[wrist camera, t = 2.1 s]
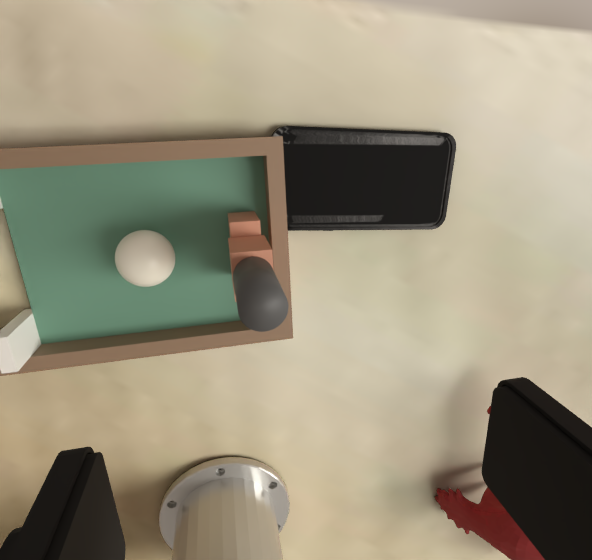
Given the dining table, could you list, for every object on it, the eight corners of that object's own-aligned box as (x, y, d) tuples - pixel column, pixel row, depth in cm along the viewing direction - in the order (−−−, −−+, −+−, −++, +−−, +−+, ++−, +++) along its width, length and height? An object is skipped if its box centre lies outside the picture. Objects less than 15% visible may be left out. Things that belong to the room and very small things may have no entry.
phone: (272, 125, 29) (458, 133, 32) (270, 125, 31) (450, 133, 33) (270, 232, 32) (443, 230, 35) (268, 229, 33) (437, 228, 36)
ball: (181, 274, 31) (176, 291, 28) (126, 279, 31) (114, 298, 27) (173, 222, 30) (168, 234, 26) (116, 227, 29) (102, 239, 26)
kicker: (261, 273, 32) (290, 352, 20) (231, 276, 32) (242, 358, 20) (256, 210, 31) (285, 254, 18) (224, 213, 30) (233, 260, 18)
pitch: (286, 322, 36) (297, 349, 31) (-20, 360, 31) (-60, 397, 27) (276, 136, 30) (287, 135, 26) (-91, 153, 26) (-155, 155, 22)
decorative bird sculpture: (467, 529, 55) (605, 580, 46) (447, 597, 49) (601, 673, 40) (431, 362, 45) (598, 383, 36) (399, 420, 39) (592, 464, 29)
